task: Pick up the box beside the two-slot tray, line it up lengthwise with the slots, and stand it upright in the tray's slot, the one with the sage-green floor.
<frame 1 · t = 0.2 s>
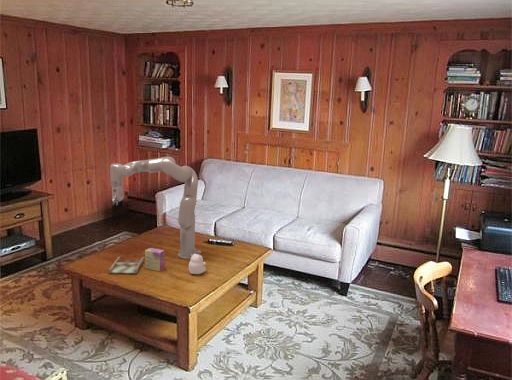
hand: (117, 208, 276), 31 cm above the table, tool pointing down, fingers open, 9 cm apart
rack: (127, 267, 262), on the table
figurine: (196, 273, 258), on the table
box: (155, 268, 263), on the table
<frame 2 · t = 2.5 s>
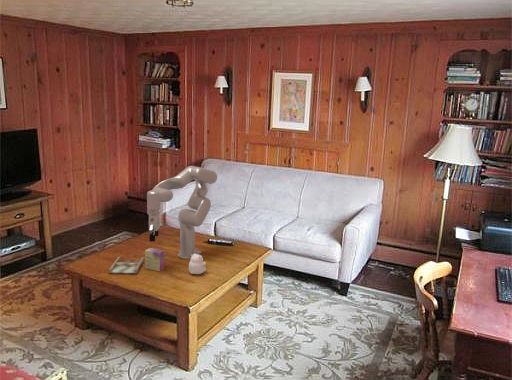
hand: (154, 238, 258), 19 cm above the table, tool pointing down, fingers open, 9 cm apart
nothing on the table moved.
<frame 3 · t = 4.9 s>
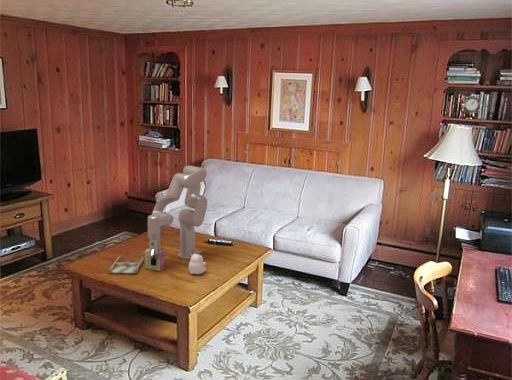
hand: (154, 262, 262), 4 cm above the table, tool pointing down, fingers closed on box, 7 cm apart
box: (155, 268, 263), on the table, touching gripper
everything else where it was.
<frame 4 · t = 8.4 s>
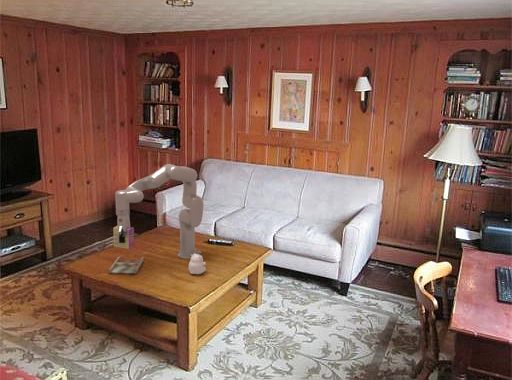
hand: (123, 240, 253), 20 cm above the table, tool pointing down, fingers closed on box, 7 cm apart
box: (124, 246, 254), point 16 cm above the table, touching gripper
everything else where it was.
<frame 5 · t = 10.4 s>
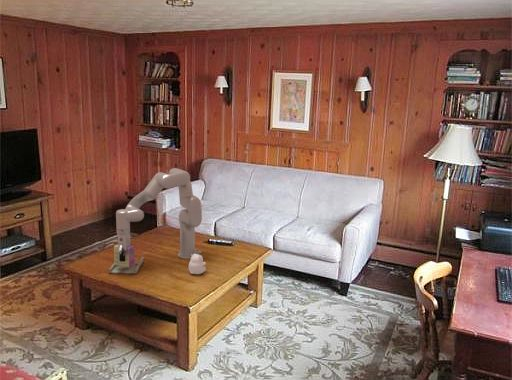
hand: (124, 258, 255), 8 cm above the table, tool pointing down, fingers closed on box, 7 cm apart
box: (124, 264, 256), point 4 cm above the table, touching gripper
everything else where it was.
when the fingers open (6 cm above the table, at t = 11.8 s): box drops 1 cm, resting on rack.
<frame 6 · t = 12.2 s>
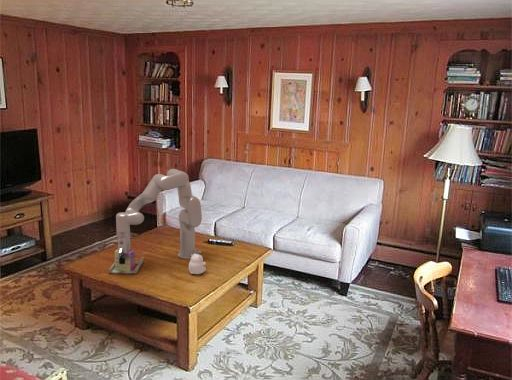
hand: (124, 260, 256), 7 cm above the table, tool pointing down, fingers open, 9 cm apart
box: (125, 269, 258), point 1 cm above the table, touching rack
everything else where it was.
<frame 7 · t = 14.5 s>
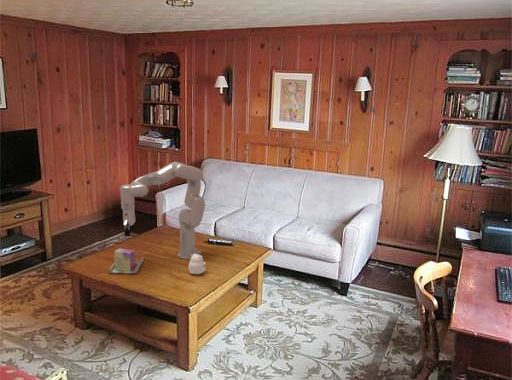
hand: (129, 233, 256), 23 cm above the table, tool pointing down, fingers open, 9 cm apart
nothing on the table moved.
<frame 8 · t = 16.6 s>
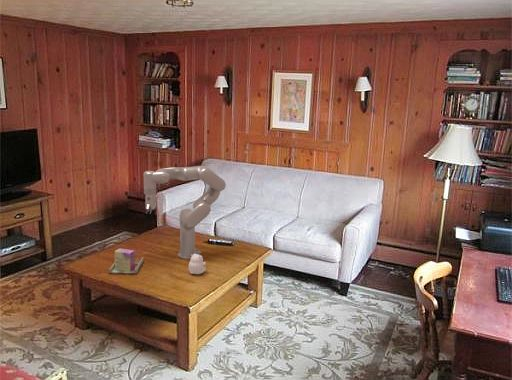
hand: (150, 217, 270), 28 cm above the table, tool pointing down, fingers open, 9 cm apart
nothing on the table moved.
at the end: box 0.7 cm from the target spot on the rack, point 0.9 cm above the rack's base; box tilted 0°; the gripper is holding nothing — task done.
